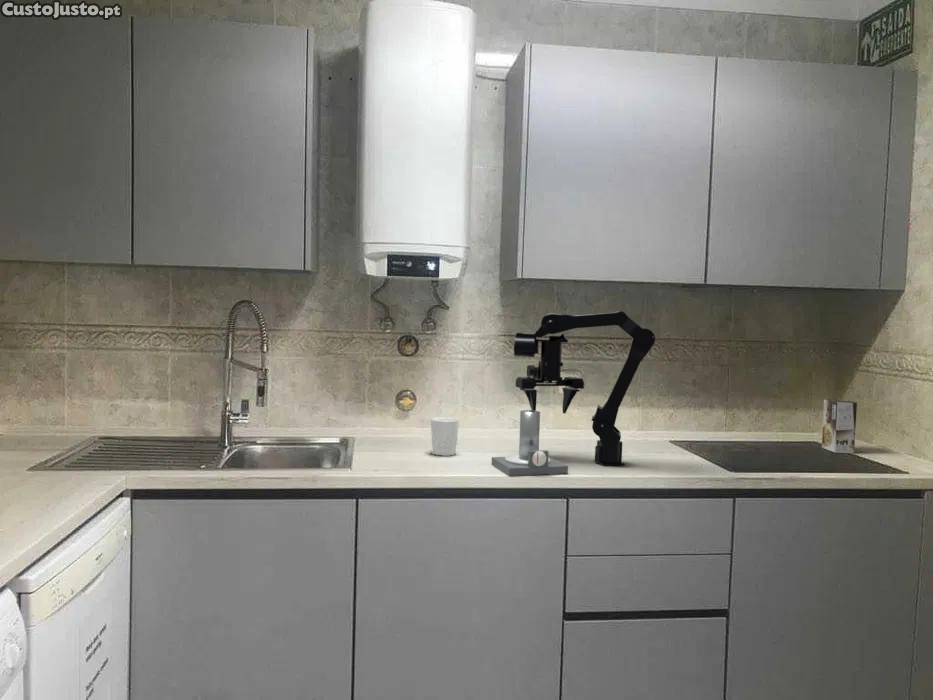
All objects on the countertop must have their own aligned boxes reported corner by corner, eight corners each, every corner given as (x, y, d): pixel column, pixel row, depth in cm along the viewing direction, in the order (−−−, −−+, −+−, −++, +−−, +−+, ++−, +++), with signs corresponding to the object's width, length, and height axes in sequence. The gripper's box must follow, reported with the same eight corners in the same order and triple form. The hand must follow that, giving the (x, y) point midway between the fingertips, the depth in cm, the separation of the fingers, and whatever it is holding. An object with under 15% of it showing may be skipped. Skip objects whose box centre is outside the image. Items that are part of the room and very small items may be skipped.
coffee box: (855, 453, 228) (858, 402, 227) (834, 453, 228) (837, 401, 227) (840, 448, 237) (843, 398, 236) (820, 447, 237) (823, 398, 236)
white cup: (433, 457, 204) (434, 421, 204) (427, 451, 212) (428, 417, 212) (460, 456, 207) (461, 421, 206) (453, 450, 214) (454, 417, 214)
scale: (546, 462, 201) (547, 440, 201) (567, 473, 188) (568, 450, 187) (491, 464, 197) (492, 442, 196) (509, 476, 183) (510, 452, 183)
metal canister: (529, 455, 197) (530, 409, 196) (542, 459, 193) (544, 411, 192) (514, 457, 194) (516, 410, 193) (528, 461, 190) (529, 413, 189)
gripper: (569, 356, 214) (567, 409, 215) (509, 355, 209) (507, 409, 210) (586, 359, 204) (584, 414, 205) (523, 358, 198) (521, 415, 199)
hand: (549, 413), depth 205 cm, fingers open, 9 cm apart
